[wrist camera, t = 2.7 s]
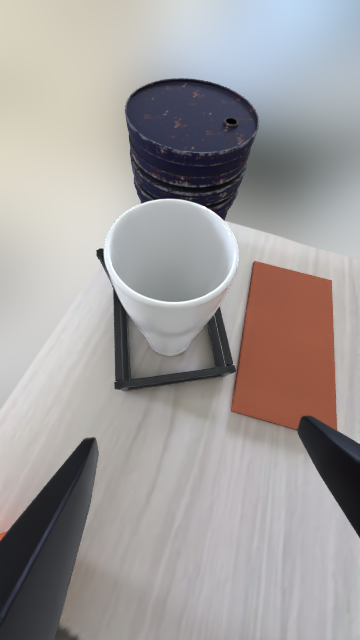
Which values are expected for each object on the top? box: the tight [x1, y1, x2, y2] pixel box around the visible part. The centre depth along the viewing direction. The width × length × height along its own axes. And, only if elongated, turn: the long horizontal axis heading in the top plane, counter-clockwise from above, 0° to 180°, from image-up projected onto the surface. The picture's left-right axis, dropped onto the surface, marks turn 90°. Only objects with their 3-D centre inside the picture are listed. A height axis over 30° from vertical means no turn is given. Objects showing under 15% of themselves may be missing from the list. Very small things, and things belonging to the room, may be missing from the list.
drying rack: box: [97, 249, 236, 391], centre depth 19 cm, size 11×11×9 cm
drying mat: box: [231, 261, 337, 430], centre depth 24 cm, size 20×11×1 cm, turn 165°
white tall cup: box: [104, 199, 239, 356], centre depth 16 cm, size 7×7×15 cm
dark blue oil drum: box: [125, 78, 259, 221], centre depth 21 cm, size 10×10×15 cm
